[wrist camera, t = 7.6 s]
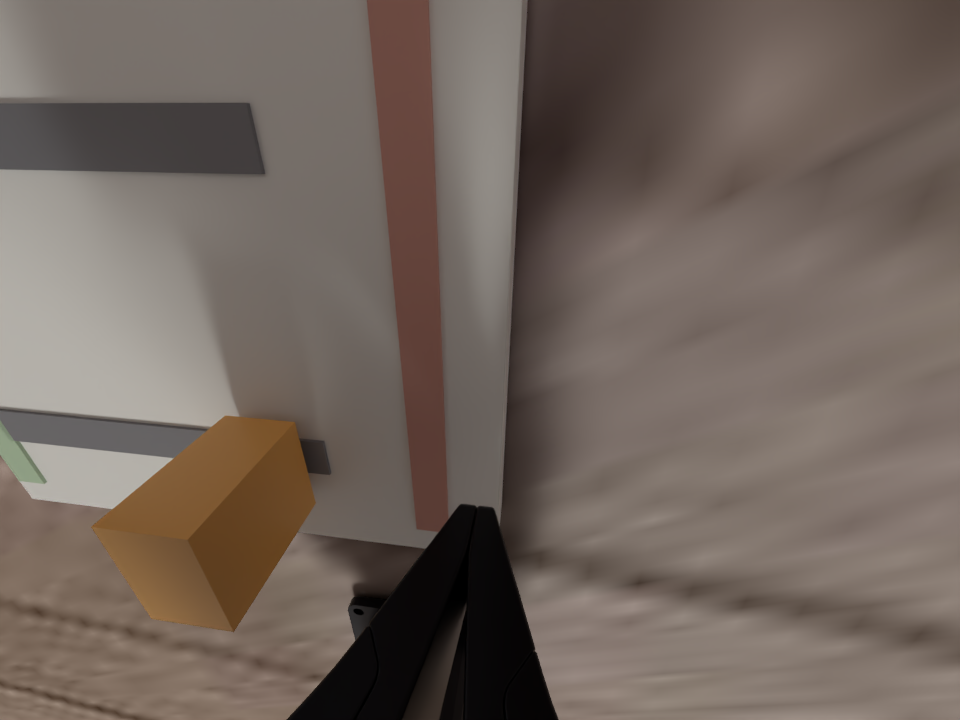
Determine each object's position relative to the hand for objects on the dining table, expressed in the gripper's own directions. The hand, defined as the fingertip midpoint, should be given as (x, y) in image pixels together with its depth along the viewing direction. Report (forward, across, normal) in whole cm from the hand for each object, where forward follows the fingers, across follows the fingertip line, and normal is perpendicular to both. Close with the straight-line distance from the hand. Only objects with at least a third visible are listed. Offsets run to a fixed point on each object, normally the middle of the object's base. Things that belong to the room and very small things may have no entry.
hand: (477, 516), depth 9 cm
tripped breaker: (+1, +6, 0) cm, 6 cm away
